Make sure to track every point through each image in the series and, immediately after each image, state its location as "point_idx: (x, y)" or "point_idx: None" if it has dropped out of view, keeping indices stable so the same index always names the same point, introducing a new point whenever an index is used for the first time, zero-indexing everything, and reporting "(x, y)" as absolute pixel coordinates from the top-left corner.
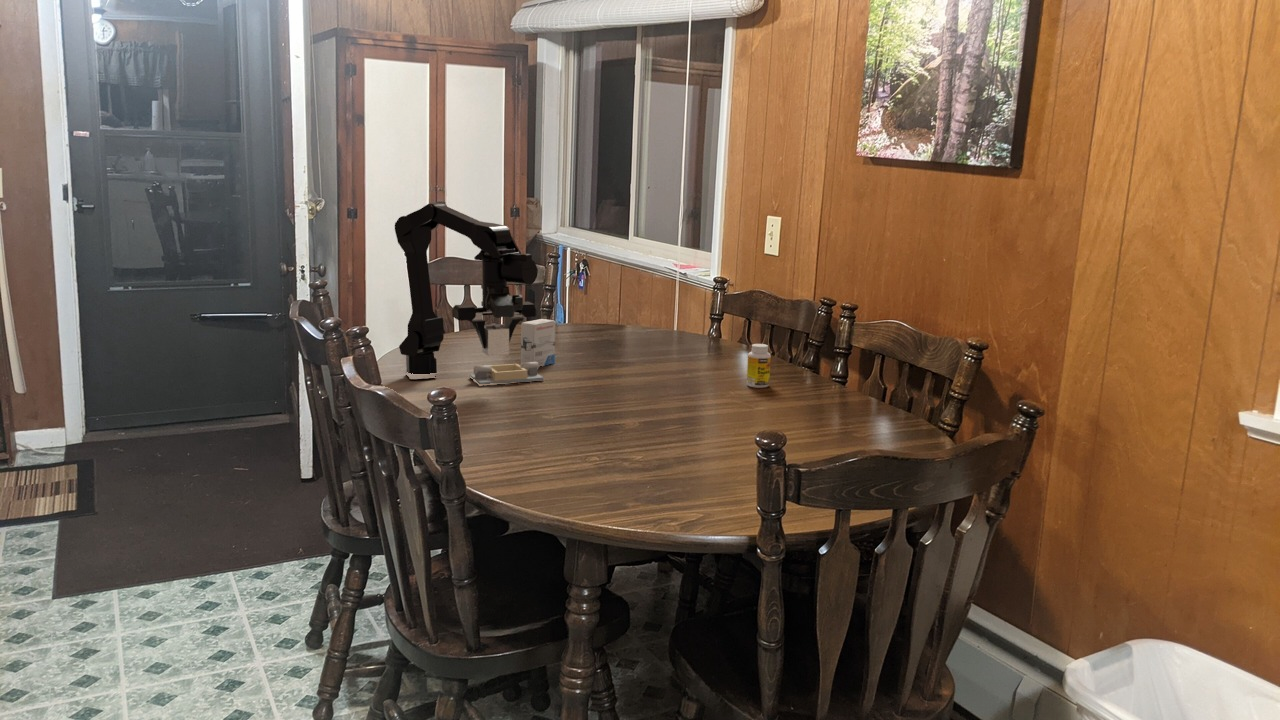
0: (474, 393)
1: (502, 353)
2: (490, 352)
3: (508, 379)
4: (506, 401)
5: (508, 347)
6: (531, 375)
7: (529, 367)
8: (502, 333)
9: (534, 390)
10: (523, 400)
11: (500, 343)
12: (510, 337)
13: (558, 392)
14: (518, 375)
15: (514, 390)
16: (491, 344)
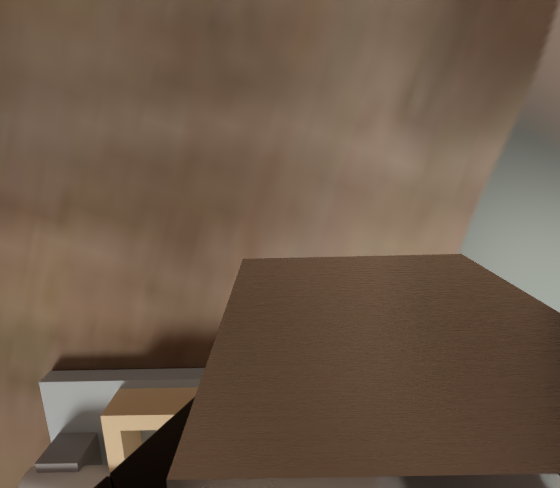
0: (421, 254)
1: (313, 261)
2: (451, 263)
3: None
4: (325, 39)
5: (243, 282)
6: (88, 431)
7: (77, 467)
8: (348, 392)
9: (127, 221)
10: (232, 29)
11: (354, 303)
12: (167, 430)
13: (15, 141)
14: (158, 399)
15: (222, 251)
16: (485, 296)
